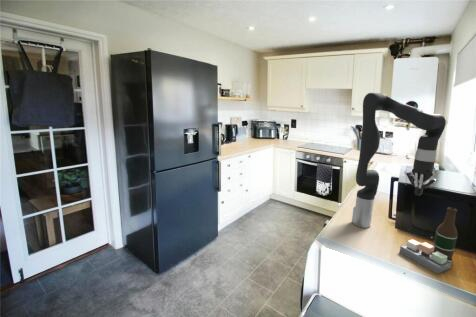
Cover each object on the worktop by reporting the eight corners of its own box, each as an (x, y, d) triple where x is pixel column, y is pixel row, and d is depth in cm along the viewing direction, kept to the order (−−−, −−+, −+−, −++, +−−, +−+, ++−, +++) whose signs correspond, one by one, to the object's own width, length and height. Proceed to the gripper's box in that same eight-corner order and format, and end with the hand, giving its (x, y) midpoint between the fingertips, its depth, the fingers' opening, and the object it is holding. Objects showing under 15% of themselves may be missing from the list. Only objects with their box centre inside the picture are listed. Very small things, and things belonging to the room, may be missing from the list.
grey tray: (399, 252, 125) (401, 242, 124) (411, 247, 128) (412, 238, 127) (438, 273, 110) (440, 263, 109) (450, 268, 113) (452, 258, 112)
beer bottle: (443, 249, 127) (453, 204, 122) (456, 259, 120) (468, 212, 114) (427, 249, 127) (437, 204, 121) (440, 259, 119) (451, 212, 114)
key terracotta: (418, 249, 119) (420, 243, 118) (424, 247, 121) (425, 241, 120) (428, 254, 116) (429, 248, 115) (433, 252, 117) (434, 246, 117)
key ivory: (406, 246, 124) (407, 241, 124) (411, 244, 126) (412, 239, 125) (414, 250, 121) (416, 245, 120) (420, 249, 122) (421, 243, 122)
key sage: (430, 259, 115) (432, 253, 114) (436, 257, 116) (437, 251, 116) (440, 264, 111) (442, 258, 110) (446, 262, 113) (447, 256, 112)
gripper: (404, 156, 120) (398, 191, 124) (435, 163, 108) (428, 201, 112) (414, 155, 123) (408, 189, 127) (446, 161, 111) (438, 199, 115)
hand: (417, 195), depth 120 cm, fingers closed
